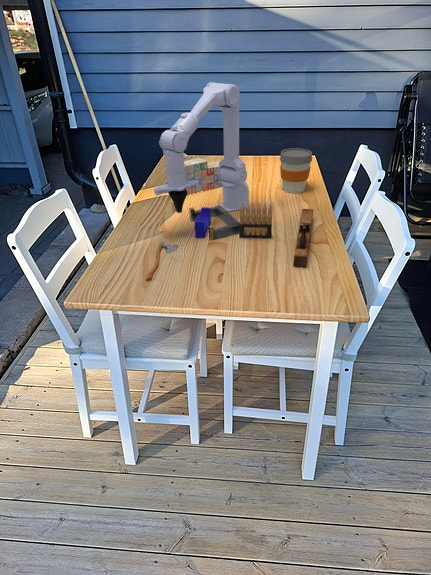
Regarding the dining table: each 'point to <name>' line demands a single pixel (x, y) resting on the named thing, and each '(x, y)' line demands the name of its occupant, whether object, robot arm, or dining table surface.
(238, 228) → the keeper cradle
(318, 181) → the dining table surface
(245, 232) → the ammunition clip
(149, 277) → the axe
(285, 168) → the reusable coffee cup
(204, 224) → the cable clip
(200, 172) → the stack of blocks
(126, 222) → the dining table surface
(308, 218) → the hand plane
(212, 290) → the dining table surface
